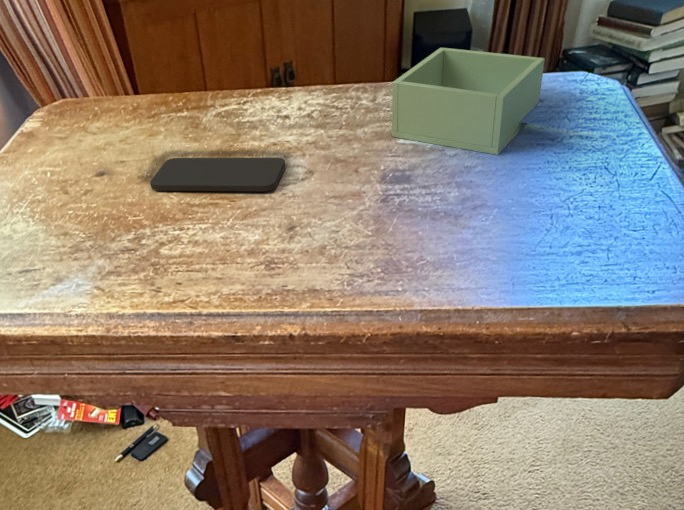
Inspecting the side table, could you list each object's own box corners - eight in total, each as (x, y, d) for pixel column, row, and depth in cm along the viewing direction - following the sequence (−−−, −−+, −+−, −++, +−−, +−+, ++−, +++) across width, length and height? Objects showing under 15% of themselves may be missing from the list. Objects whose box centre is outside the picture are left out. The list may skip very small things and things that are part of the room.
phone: (167, 157, 88) (286, 157, 85) (169, 163, 89) (287, 163, 85) (146, 185, 83) (273, 186, 79) (148, 192, 83) (274, 193, 80)
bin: (537, 112, 91) (544, 58, 87) (497, 155, 83) (503, 97, 78) (438, 98, 98) (440, 47, 93) (391, 136, 89) (391, 82, 85)
